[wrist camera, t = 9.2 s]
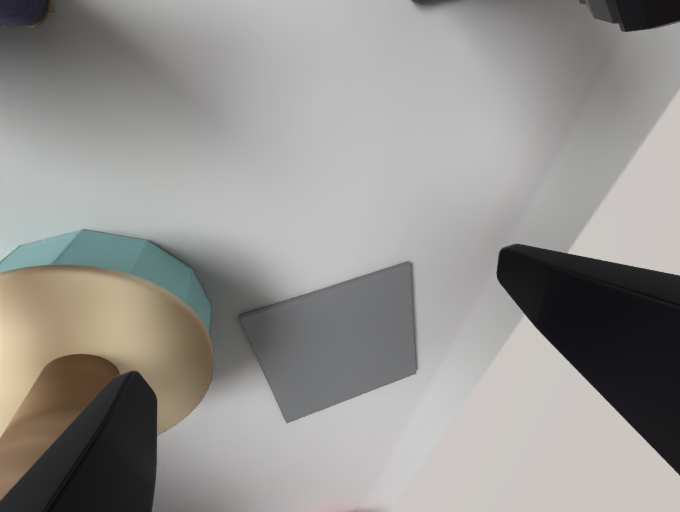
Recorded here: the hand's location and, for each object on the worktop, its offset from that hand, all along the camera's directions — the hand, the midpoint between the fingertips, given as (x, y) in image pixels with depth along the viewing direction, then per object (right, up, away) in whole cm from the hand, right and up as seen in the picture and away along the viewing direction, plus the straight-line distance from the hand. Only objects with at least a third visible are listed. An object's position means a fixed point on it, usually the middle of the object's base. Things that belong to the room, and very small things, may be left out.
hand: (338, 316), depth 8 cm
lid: (-13, -4, +9) cm, 16 cm away
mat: (0, -6, +19) cm, 20 cm away
